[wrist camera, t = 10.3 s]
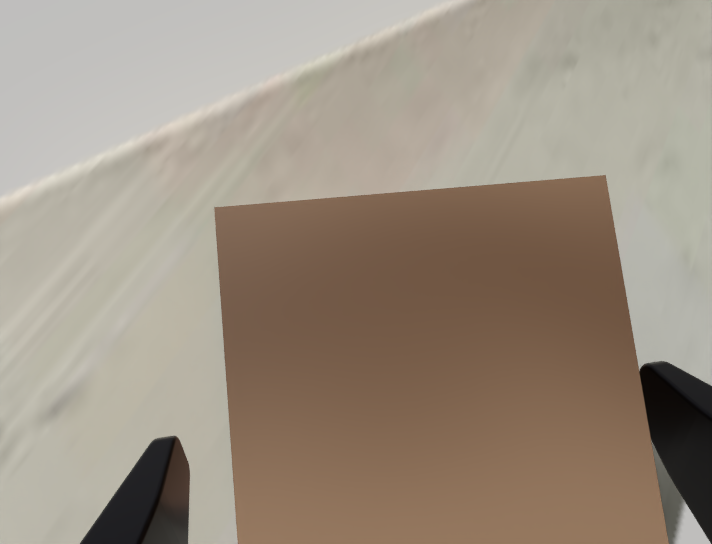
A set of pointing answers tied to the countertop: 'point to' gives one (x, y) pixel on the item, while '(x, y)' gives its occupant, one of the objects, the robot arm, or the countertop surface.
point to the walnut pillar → (435, 370)
